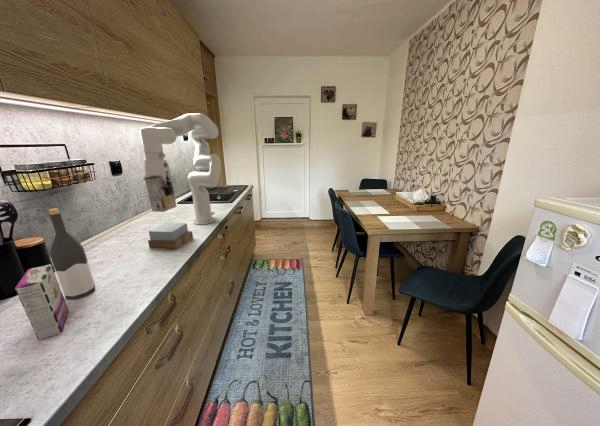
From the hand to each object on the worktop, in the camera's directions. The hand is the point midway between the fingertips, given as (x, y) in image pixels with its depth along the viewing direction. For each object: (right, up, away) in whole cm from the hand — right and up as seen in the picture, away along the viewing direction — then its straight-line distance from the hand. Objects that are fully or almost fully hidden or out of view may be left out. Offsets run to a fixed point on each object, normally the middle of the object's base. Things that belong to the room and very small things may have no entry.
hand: (161, 194), depth 114 cm
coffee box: (0, -7, +2) cm, 7 cm away
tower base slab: (+1, -24, +8) cm, 25 cm away
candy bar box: (-4, -41, -46) cm, 61 cm away
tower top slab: (0, -20, +7) cm, 21 cm away
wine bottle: (-10, -36, -31) cm, 49 cm away
